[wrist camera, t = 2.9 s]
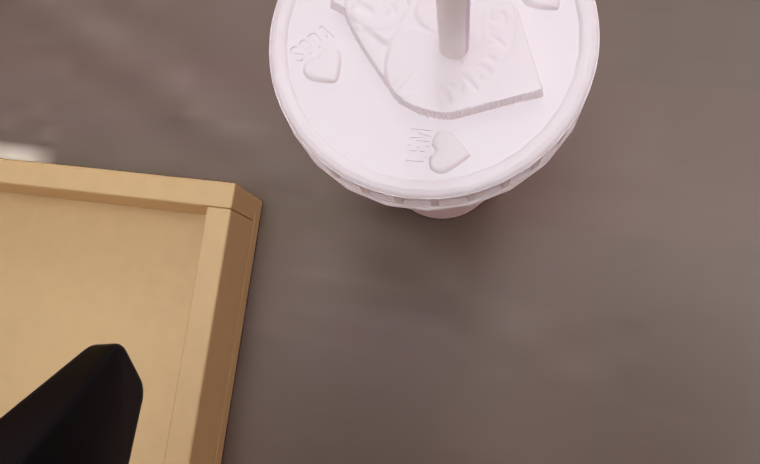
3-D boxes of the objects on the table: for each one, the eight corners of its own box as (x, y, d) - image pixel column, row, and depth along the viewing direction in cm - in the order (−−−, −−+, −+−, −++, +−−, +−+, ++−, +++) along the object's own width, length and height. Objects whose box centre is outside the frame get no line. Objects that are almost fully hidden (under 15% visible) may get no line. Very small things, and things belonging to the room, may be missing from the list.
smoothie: (476, 295, 21) (510, 230, 7) (313, 198, 22) (67, -21, 8) (574, 129, 21) (790, -241, 7) (409, 43, 22) (330, -417, 9)
